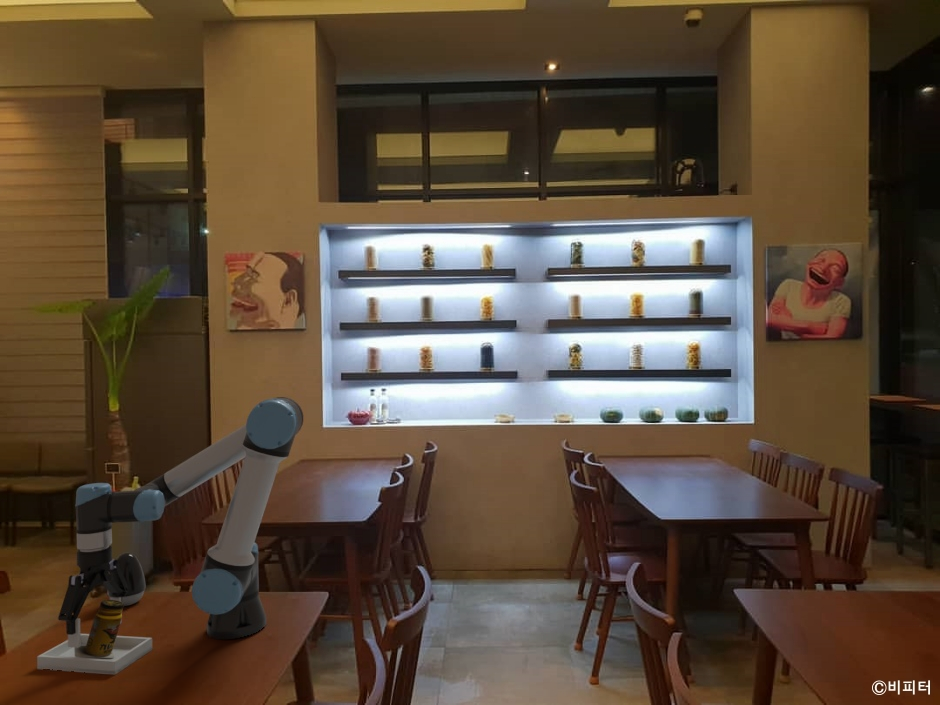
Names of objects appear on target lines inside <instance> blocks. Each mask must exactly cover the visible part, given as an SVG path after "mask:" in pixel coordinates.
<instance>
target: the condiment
mask: <svg viewBox="0 0 940 705" xmlns="http://www.w3.org/2000/svg"><path fill="white" fill-rule="evenodd" d="M124 607H125V606H124V604H123V603H122V602H120V601H117V600H110V599H105V600H102V601H101V602H100V605H99V607H98V609H97V610H98V611H97V612H96V613H95V615H94V618H93V622H92V625H91V627H90V628H91V629H90V630H89V633H88V634H89V638H88V641H87V644H86V646H83V645H81V646H80V647H78V648H77V647H74V651H75V652H74V653H75V657H95V658H114V655H113V646H114V643H115V640H116V637H117V636H118V633H119V628H120V626H121V624H120V622H121V619H123V615H122V614H121V613H123V609H124Z"/></svg>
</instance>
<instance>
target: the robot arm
mask: <svg viewBox="0 0 940 705" xmlns="http://www.w3.org/2000/svg"><path fill="white" fill-rule="evenodd" d="M303 423H304V413H303V409H302V408H301V405H299V403H298V402H296V401H295V400H293V399H291V398H289V397H285V396H279V397H274V398H268V399H265V400H263V401H260V402H259V403H258V404H256V405H255V406H254V407H253V408H252V409H251V411H250V412H249V414H248V416H247V418H246V423H245V424H244V425H242V426H241V427H239V428H238V429H236V430H234V431H233V432H231V433H229V434H228V435H225V436H224V437H222V438H221V439H219V440H218V441H216V442H214V443H213V444H210V445H209V446H208V447H206V448H204V449H203V450H201V451H199V452H198V453H196V454H195V455H193V456H191V457H189V458H187V459H186V460H184V461H183V462H181V463H179V464H178V465H176V466H174V467H173V468H171V469H170V470H168V471H166V472H165V473H163V474H162V475H160V476H158V477H156V478H155V479H153V480H151V481H150V482H148V483H146V484H144V485H142V486H139V487H138V488H136V489H134V490H126V491H125V490H124V491H115V490H114V491H113V489H112V486H111V484H110V483H108V482H96V483H95V482H94V483H89V484H87V483H86V484H84V485H81V486H79V487H78V488H77V489H76V496H75V505H74V506H75V516H76V519H75V520H76V521H75V522H76V523H75V524H76V549H77V552H76V566H78V568H79V569H80V570H79V574H76V575H75V574H74V575H71V574H70V575H69V576H68V587H67V589H66V592H65V595H64V599H63V602H62V604H61V608H60V610H59V613H58V617H57V620H58V621H65V623H66V625H65V628H66V635H67V640H68V647H77V648H78V647H80V646H81V636H80V634H81V618H78V617H79V615H80V613H81V610H82V609H83V607H84V605H85V602H86V600H87V598H88V596H89V595H90V593H91V592H92V591H93V589H94V588H97V587H98V586H99V585H100V586H101V585H102V586H103V587H104V588H105V589H106V590H107V592H108V591H109V592H110V593H111V594H112V595H113V596H114V597H111V598H109V600H117V601H120V602H122V596H126V592H125V591H128V589H129V587H128V585H127V583H126V580H125V578H124V576H123V574H122V571H121V569H120V566H119V560H118V559H117V558H116V559H114V558H113V547H112V544H113V533H112V532H113V531H112V527H113V525H112V524H113V523H114V524H115V523H136V522H137V523H139V522H141V523H147V522H150V521H157V520H160V519H161V518H162V515H163V513H164V510H165V507H167V506H168V505H170V504H171V503H172V502H175V501H176V500H178V499H179V498H181V497H183V495H185V494H187V493H189V492H190V491H193V489H196V488H197V487H198V486H200V485H202V484H203V483H205V482H206V481H208V480H210V479H212V478H213V477H216V476H217V475H218V474H221V473H222V472H223V471H225V470H226V469H228V468H230V467H231V466H233V465H235V464H236V463H238V462H240V461H241V460H243V462H242V466H241V468H240V471H239V474H238V478H237V481H236V484H235V487H234V490H233V493H232V496H231V500H230V502H229V505H228V509H227V512H226V515H225V518H224V521H223V524H222V527H221V530H220V532H219V536H218V539H217V543H216V544H215V545H213V546H211V547H210V548H209V549H208V550H207V552H206V555H205V557H204V560H203V565H202V567H201V570H200V573H199V574H198V575H197V576H196V577H195V579H194V580H193V584H192V586H191V596H192V600H193V602H194V603H195V605H196V606H197V607H198V609H199V610H201V611H203V612H204V613H207V614H209V616H208V620H207V624H206V634H207V636H208V637H210V638H211V639H217V640H235V638H237V639H241V638H240V637H242V638H245V637H244V636H246V637H248V636H247V635H249V636H252V635H254V634H253V633H255V634H256V632H257V633H258V631H259V630H260V631H262V630H263V629H264V628H265V627H266V626H267V615H266V612H265V609H264V606H263V603H262V601H261V598H260V592H259V591H260V590H259V589H260V584H259V554H260V553H259V547H258V546H259V545H258V544H257V543H256V542H255V541H256V538H257V535H258V532H259V528H260V525H261V523H262V520H263V517H264V513H265V510H266V507H267V504H268V501H269V498H270V495H271V491H272V489H273V485H274V482H275V479H276V476H277V473H278V470H279V466H280V464H281V462H282V461H284V460H286V459H288V458H289V455H290V452H291V449H292V446H293V443H294V440H295V438H296V435H297V434H298V433H299V432H300V431H301V429H302V427H303V425H304V424H303ZM121 585H122V586H121ZM122 613H123V612H122ZM122 613H121V614H122ZM122 619H123V618H122ZM122 619H121V622H120V625H121V624H122V623H123V622H122V621H123V620H122ZM265 625H266V626H265ZM263 627H264V628H263ZM262 628H263V629H262ZM261 629H262V630H261ZM260 631H259V632H260ZM251 634H252V635H251Z"/></svg>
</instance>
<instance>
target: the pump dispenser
mask: <svg viewBox="0 0 940 705" xmlns="http://www.w3.org/2000/svg"><path fill="white" fill-rule="evenodd" d="M116 559H118V560H119V566H120V569H121V571H122V574H123V576H124V578H125V580H126V583H127V585H128V587H129V589H128V591H125V592H126V596H122V603H123V604H124V607H127V606H132V605H134V604H136V603H138V602H139V601H140V600H141V599H142V597H143V595H144V594H145V590H146V578H145V574H144V571H143V567H142V565H141V563H140V561H139V559H138V558H137V556H136V555H135V554H134V553H132V552H123V553H121V554H119V555H118V556H117V558H116ZM121 586H122V585H121ZM107 596H108V598H109V599H110V598H111V597H114V596H113V595H112V594H111V593H110V592H109V591H108V590H107Z"/></svg>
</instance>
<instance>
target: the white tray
mask: <svg viewBox="0 0 940 705" xmlns="http://www.w3.org/2000/svg"><path fill="white" fill-rule="evenodd" d="M89 634H90V633H80V636H81V645H83V646H86V644H87V641H88V638H89ZM152 651H153V637H148V636H147V637H145V636H127V635H126V636H125V635H117V637H116V640H115V643H114V646H113V655H114V658H95V657H75V653H74V652H75V651H74V647H68V639H66V640H65V641H63V642H62V643H59V644H58V645H56V646H54V647H52V648H50V649H48V650H47V651H45V652H43V653H41V654H39V655H37V656H36V658H37V659H36V662H37V666H36V667H37V670H43V669H50V670H49V671H57V670H62V671H61V672H71V671H74V672H75V673H84V672H85V674H86V673H88V674H102V675H114V676H115V675H117V674H118V673H120V672H122V671H123V670H125V669H126V668H128V667H129V666H131V665H132V664H133V663H135V662H137V661H138V660H139V659H140V658H143V657H144V656H146V654H148V653H150V652H152ZM52 669H53V670H52Z"/></svg>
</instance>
